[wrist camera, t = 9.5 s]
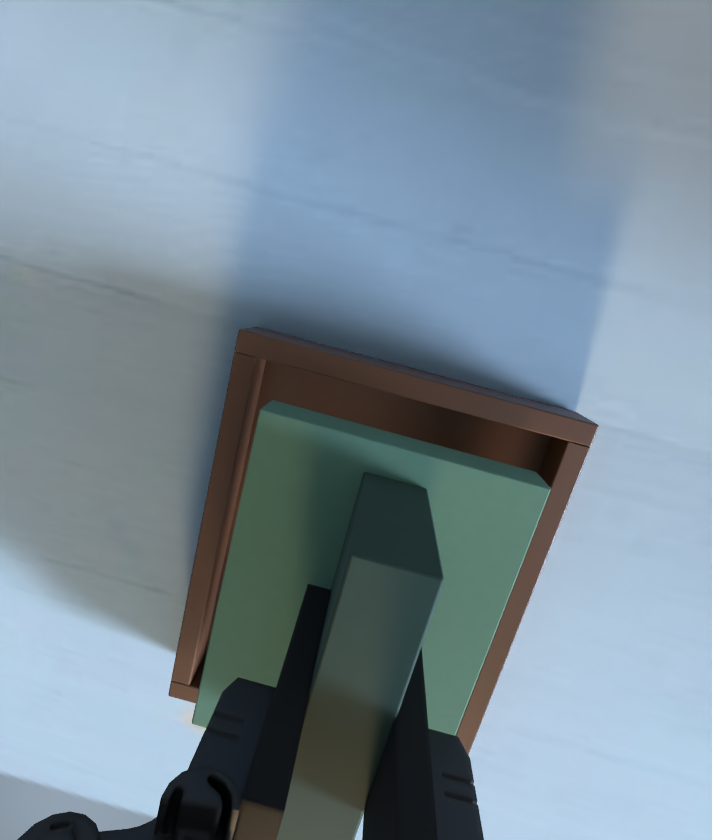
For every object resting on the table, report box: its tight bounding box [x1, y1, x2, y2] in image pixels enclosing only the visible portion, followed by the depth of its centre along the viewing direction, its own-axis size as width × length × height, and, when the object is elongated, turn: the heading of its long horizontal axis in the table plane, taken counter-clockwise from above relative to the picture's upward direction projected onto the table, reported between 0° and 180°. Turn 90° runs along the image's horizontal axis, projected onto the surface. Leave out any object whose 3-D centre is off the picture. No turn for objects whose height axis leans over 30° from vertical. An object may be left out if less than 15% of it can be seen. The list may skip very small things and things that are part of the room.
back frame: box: [169, 327, 598, 754], centre depth 19 cm, size 16×13×2 cm
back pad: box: [192, 400, 551, 840], centre depth 14 cm, size 12×9×6 cm
